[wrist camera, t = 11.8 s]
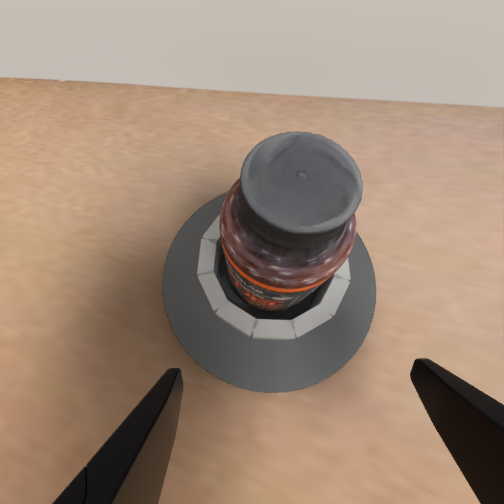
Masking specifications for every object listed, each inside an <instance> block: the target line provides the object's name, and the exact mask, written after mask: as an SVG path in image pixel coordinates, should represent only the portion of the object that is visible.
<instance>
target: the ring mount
mask: <svg viewBox="0 0 504 504" xmlns="http://www.w3.org/2000/svg"><path fill="white" fill-rule="evenodd" d="M227 193H228V192H227ZM227 193H224V194H222V195H220V196H218V197H216V198H214V199H213V200H211V201H209V202H208V203H206V204H205V205H203V206H202V207H201V208H200V209H199V210H197V211H196V212H195V213H194V214H193V215H192V216H191V217H190V218H189V219H188V220H187V221H186V222H185V224H184V225H183V227H182V228H181V229H180V231H179V232H178V234H177V236H176V237H175V239H174V241H173V243H172V245H171V248H170V250H169V253H168V256H167V260H166V264H165V268H164V277H163V296H164V302H165V308H166V312H167V315H168V318H169V322H170V324H171V326H172V328H173V331H174V333H175V335H176V337H177V338H178V340H179V341H180V343H181V344H182V346H183V347H184V349H185V350H186V351H187V352H188V354H189V355H190V356H191V357H192V358H193V359H194V360H195V361H196V362H197V363H198V364H199V365H200V366H202V367H203V368H204V369H205V370H206V371H207V372H209V373H211V374H212V375H214V376H215V377H217V378H219V379H220V380H222V381H224V382H227V383H229V384H231V385H234V386H236V387H239V388H243V389H247V390H251V391H257V392H266V393H278V392H289V391H294V390H300V389H303V388H306V387H309V386H312V385H314V384H317V383H319V382H321V381H323V380H324V379H326V378H328V377H330V376H331V375H333V374H334V373H335V372H337V371H338V370H339V369H341V368H342V367H343V366H344V365H345V364H346V363H347V362H348V361H349V360H350V359H351V358H352V357H353V356H354V354H355V353H356V351H357V350H358V349H359V347H360V346H361V344H362V343H363V341H364V339H365V337H366V335H367V333H368V331H369V328H370V325H371V322H372V319H373V315H374V309H375V304H376V282H375V274H374V270H373V266H372V262H371V259H370V256H369V254H368V251H367V249H366V247H365V245H364V243H363V241H362V239H361V238H360V236H359V235H358V233H357V232H356V237H355V240H354V244H353V247H352V250H351V252H350V254H349V256H348V258H347V259H346V261H345V262H344V264H343V265H342V266H341V267H340V268H339V269H338V270H337V271H336V272H335V273H334V274H333V275H332V276H331V277H329V278H328V279H327V280H326V281H325V282H324V283H322V284H321V285H320V286H319V287H317V288H316V289H315V290H314V291H313V292H311V293H310V294H309V295H307V296H306V297H305V298H304V299H302V300H301V301H300V302H299V303H298V304H296V305H294V306H293V307H292V308H289V309H287V310H285V311H280V312H262V311H259V310H255V309H253V308H251V307H250V306H248V305H247V304H246V303H244V302H243V301H242V300H241V299H240V297H239V296H238V295H237V294H236V292H235V290H234V288H233V286H232V284H231V280H230V276H229V272H228V267H227V263H226V259H225V255H224V250H223V246H222V241H221V236H220V227H219V226H220V213H221V208H222V204H223V201H224V199H225V197H226V195H227Z"/></svg>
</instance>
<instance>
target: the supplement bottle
mask: <svg viewBox="0 0 504 504" xmlns="http://www.w3.org/2000/svg"><path fill="white" fill-rule="evenodd" d="M362 192H363V181H362V178H361V173H360V170H359V168H358V167H357V165H356V163H355V161H354V159H353V158H352V157H351V156H350V155H349V154H348V152H347V151H346V150H345V149H343V148H342V147H341V146H340V145H338V144H336V143H335V142H334V141H332V140H330V139H328V138H326V137H324V136H321V135H317V134H312V133H309V132H287V133H280V134H277V135H275V136H271V137H269V138H267V139H265V140H263V141H261V142H260V143H259V144H257V145H256V146H255V147H254V148H253V149H252V150H251V151H250V153H249V154H248V155H247V157H246V158H245V161H244V163H243V166H242V169H241V175H240V178H239V179H238V180H237V181H236V182H235V183H234V184H233V186H232V187H231V189H230V190H229V191H228V193H227V195H226V197H225V199H224V201H223V204H222V208H221V213H220V226H219V227H220V236H221V241H222V246H223V250H224V255H225V259H226V263H227V267H228V272H229V276H230V280H231V284H232V286H233V288H234V290H235V292H236V294H237V295H238V296H239V297H240V299H241V300H242V301H243V302H244V303H246V304H247V305H248V306H250V307H251V308H253V309H255V310H259V311H262V312H280V311H285V310H287V309H289V308H292V307H293V306H294V305H296V304H298V303H299V302H300V301H301V300H302V299H304V298H305V297H306V296H307V295H309V294H310V293H311V292H313V291H314V290H315V289H316V288H317V287H319V286H320V285H321V284H322V283H324V282H325V281H326V280H327V279H328V278H329V277H331V276H332V275H333V274H334V273H335V272H336V271H337V270H338V269H339V268H340V267H341V266H342V265H343V264H344V262H345V261H346V259H347V258H348V256H349V254H350V252H351V250H352V247H353V244H354V240H355V237H356V218H355V213H354V212H355V211H356V209H357V208H358V206H359V203H360V201H361V199H362Z"/></svg>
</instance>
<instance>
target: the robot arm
mask: <svg viewBox="0 0 504 504" xmlns="http://www.w3.org/2000/svg"><path fill="white" fill-rule="evenodd" d="M410 377H411V381H412V383H413V385H414V387H415V389H416V391H417V393H418V395H419V397H420V399H421V401H422V403H423V405H424V407H425V409H426V411H427V413H428V415H429V417H430V419H431V421H432V423H433V425H434V426H435V428H436V430H437V432H438V433H439V435H440V437H441V438H442V440H443V442H444V443H445V445H446V447H447V448H448V450H449V452H450V453H451V455H452V457H453V458H454V460H455V462H456V463H457V465H458V467H459V468H460V470H461V472H462V473H463V475H464V477H465V478H466V480H467V482H468V483H469V485H470V487H471V488H472V490H473V492H474V493H475V495H476V497H477V498H478V500H479V502H480V503H481V504H504V405H503V404H501V403H500V402H498V401H497V400H495V399H493V398H492V397H490V396H488V395H487V394H485V393H483V392H482V391H480V390H479V389H477V388H475V387H474V386H472V385H470V384H469V383H467V382H466V381H464V380H462V379H461V378H459V377H457V376H456V375H454V374H452V373H451V372H449V371H448V370H446V369H444V368H443V367H441V366H439V365H438V364H436V363H435V362H433V361H431V360H429V359H427V358H419V359H416V360H415V361H414V364H413V367H412V370H411V373H410ZM182 392H183V381H182V375H181V370H180V369H179V368H170V369H168V370H167V371H166V372H165V373H164V375H163V376H162V377H161V378H160V379H159V380H158V382H157V383H156V384H155V385H154V386H153V387H152V389H151V390H150V391H149V392H148V393H147V394H146V396H145V397H144V398H143V399H142V400H141V401H140V403H139V404H138V405H137V406H136V407H135V408H134V410H133V411H132V412H131V413H130V414H129V415H128V417H127V418H126V419H125V420H124V421H123V422H122V424H121V425H120V426H119V427H118V428H117V429H116V431H115V432H114V433H113V434H112V435H111V436H110V438H109V439H108V440H107V441H106V442H105V443H104V445H103V446H102V447H101V448H100V449H99V450H98V452H97V453H96V454H95V455H94V456H93V457H92V459H91V460H90V461H89V462H88V463H87V467H84V468H83V469H82V470H81V471H80V472H79V474H78V475H77V476H76V477H75V478H74V479H73V481H72V482H71V483H70V484H69V485H68V486H67V487H66V489H65V490H64V491H63V492H62V493H61V494H60V495H59V496H58V498H57V499H56V500H55V501H54V502H53V503H52V504H158V501H159V498H160V494H161V490H162V486H163V482H164V478H165V475H166V471H167V467H168V463H169V459H170V455H171V452H172V448H173V444H174V440H175V435H176V429H177V423H178V417H179V411H180V405H181V398H182Z"/></svg>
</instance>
